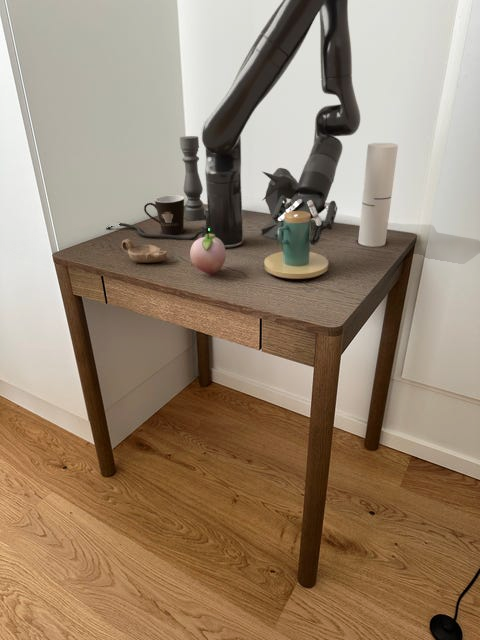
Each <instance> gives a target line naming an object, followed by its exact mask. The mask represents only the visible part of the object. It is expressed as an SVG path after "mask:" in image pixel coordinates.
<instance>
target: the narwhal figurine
mask: <svg viewBox="0 0 480 640" xmlns="http://www.w3.org/2000/svg"><path fill="white" fill-rule="evenodd" d="M262 174H264V175H265V176H266V177H268V179H270V180H269V182H268V186H267V188H266V192H265V195H264V197H263V198H262V200H261V202H262V201H265V203H266V205H267V207H268V210H269V214H270V217H271V219H270V220H269V222H268V223H266V225H264V227H262V228H261V236H264V237H268V238H271V239H274V240H278V239H277V238H276V236H275V234H274V232H275V229H276V226H277V224H278V223H276V221H275V220H274V218H273V217H272V215H273V213H274V210H275V208H276V206H277V203H278V201H279V199H280V197H281V196H285V198H288V199H292V198H293V197H294V195H295V191H296V188H297V185H298V182H299V181H297V179H296V178H295V177H294V176H293V175H292V174H291V172H290V171H289V170H288V169H287V168H283V167H278V168H277V169H276V170H275V171H274V172H273V174H272V173H268V172H265V171H262ZM290 206H291V205H289V206H288V208H289V207H290ZM288 208H286V209H285V211H286V210H287V209H288ZM285 211H284V213H285ZM284 213H283V214H284ZM282 241H283V236H282Z"/></svg>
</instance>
